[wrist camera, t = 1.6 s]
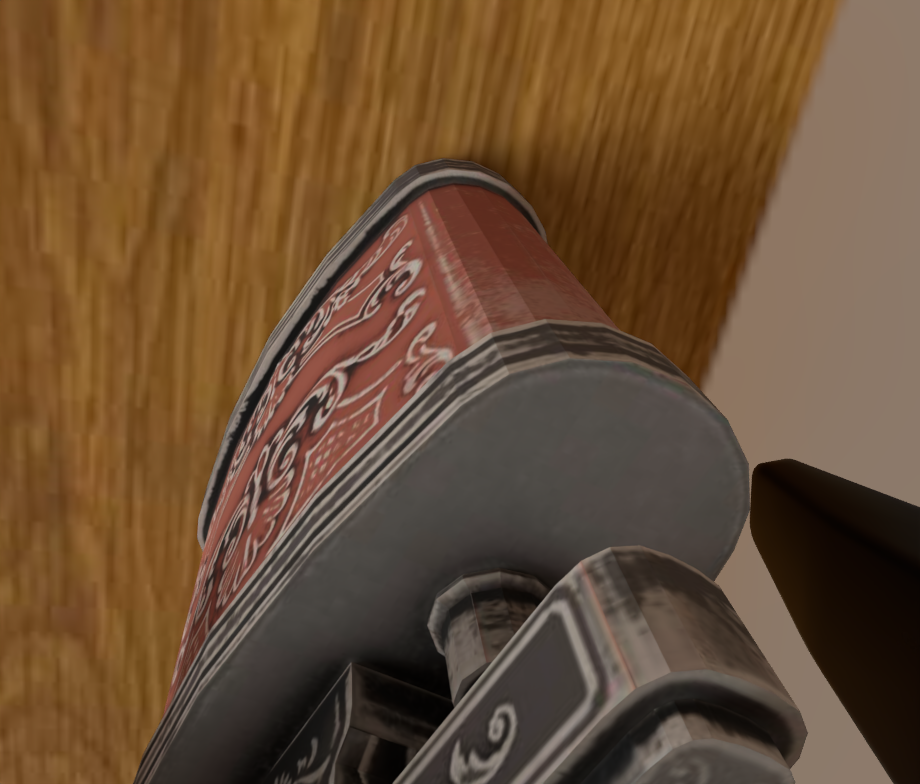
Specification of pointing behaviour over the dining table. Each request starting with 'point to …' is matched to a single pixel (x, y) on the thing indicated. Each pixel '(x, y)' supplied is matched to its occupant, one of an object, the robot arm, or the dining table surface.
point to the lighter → (468, 533)
